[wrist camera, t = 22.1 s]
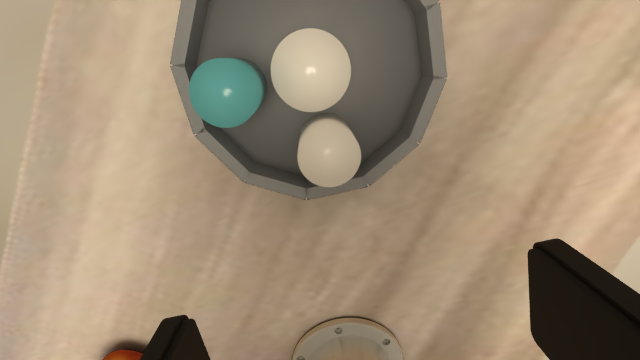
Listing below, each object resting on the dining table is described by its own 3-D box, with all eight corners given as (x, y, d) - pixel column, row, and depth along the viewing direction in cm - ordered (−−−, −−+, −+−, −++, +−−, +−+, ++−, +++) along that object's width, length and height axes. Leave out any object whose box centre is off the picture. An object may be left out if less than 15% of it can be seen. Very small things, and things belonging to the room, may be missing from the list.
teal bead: (273, 108, 30) (265, 120, 25) (221, 119, 31) (201, 134, 25) (259, 52, 29) (247, 50, 23) (204, 64, 29) (179, 66, 23)
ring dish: (442, 157, 33) (459, 170, 30) (229, 203, 34) (219, 222, 30) (414, -102, 27) (431, -129, 23) (150, -37, 27) (125, -52, 24)
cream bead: (355, 158, 32) (366, 179, 26) (305, 169, 32) (305, 193, 27) (346, 107, 31) (354, 119, 25) (293, 119, 31) (290, 133, 25)
